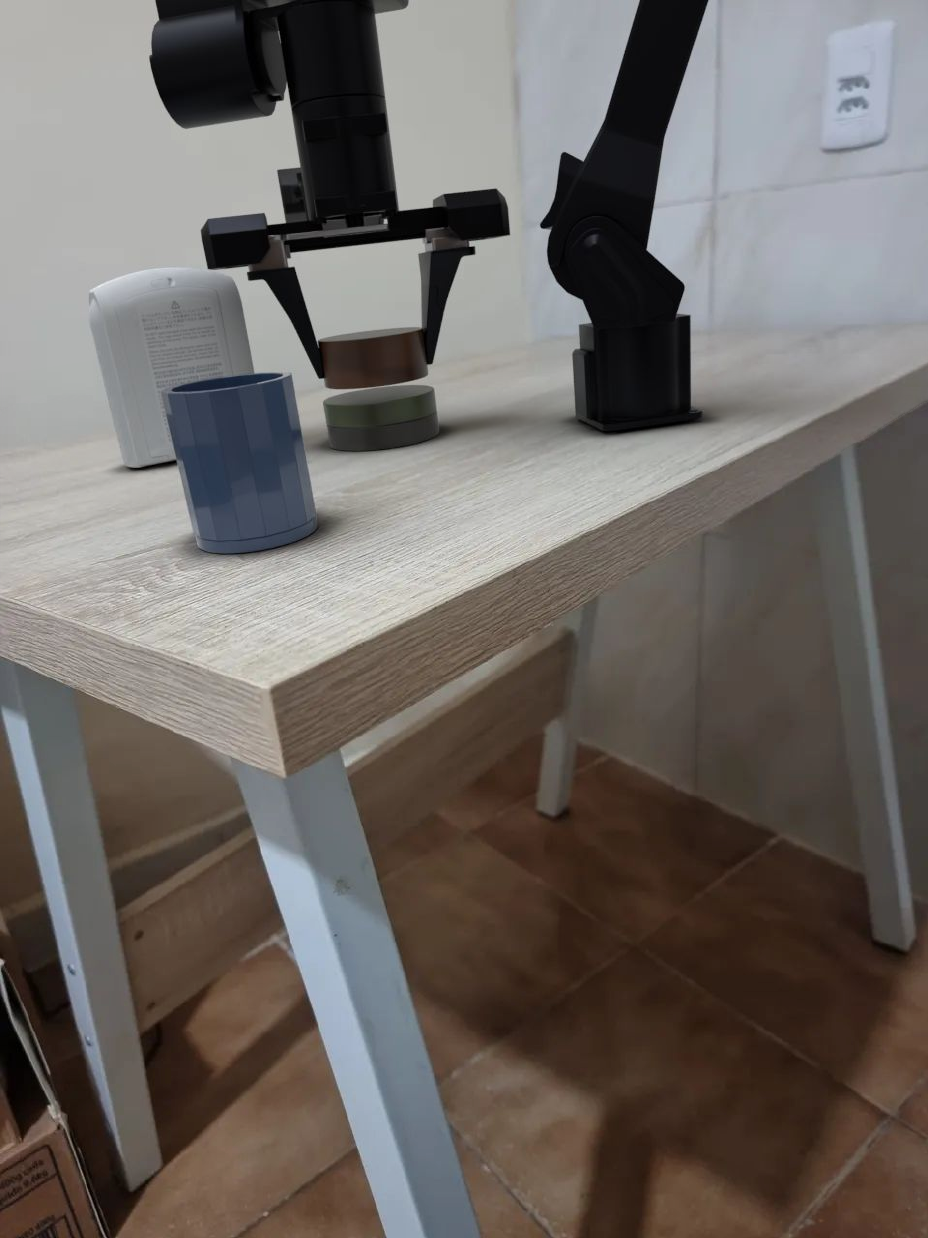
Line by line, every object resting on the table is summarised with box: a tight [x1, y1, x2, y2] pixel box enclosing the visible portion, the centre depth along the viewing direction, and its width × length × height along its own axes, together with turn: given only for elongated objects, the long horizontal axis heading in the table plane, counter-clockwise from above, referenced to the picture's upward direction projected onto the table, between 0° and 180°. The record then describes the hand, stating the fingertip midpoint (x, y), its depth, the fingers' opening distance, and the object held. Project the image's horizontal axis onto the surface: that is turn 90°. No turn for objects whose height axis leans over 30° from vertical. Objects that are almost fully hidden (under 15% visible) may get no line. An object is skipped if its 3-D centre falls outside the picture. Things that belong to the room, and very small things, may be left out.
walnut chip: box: [317, 326, 429, 390], centre depth 58 cm, size 7×7×3 cm
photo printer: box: [88, 266, 255, 469], centre depth 60 cm, size 10×4×12 cm, turn 123°
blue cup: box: [161, 371, 319, 554], centre depth 40 cm, size 6×6×7 cm
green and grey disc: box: [322, 384, 440, 452], centre depth 60 cm, size 8×8×3 cm
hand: (376, 370), depth 59 cm, fingers closed on walnut chip, 7 cm apart
